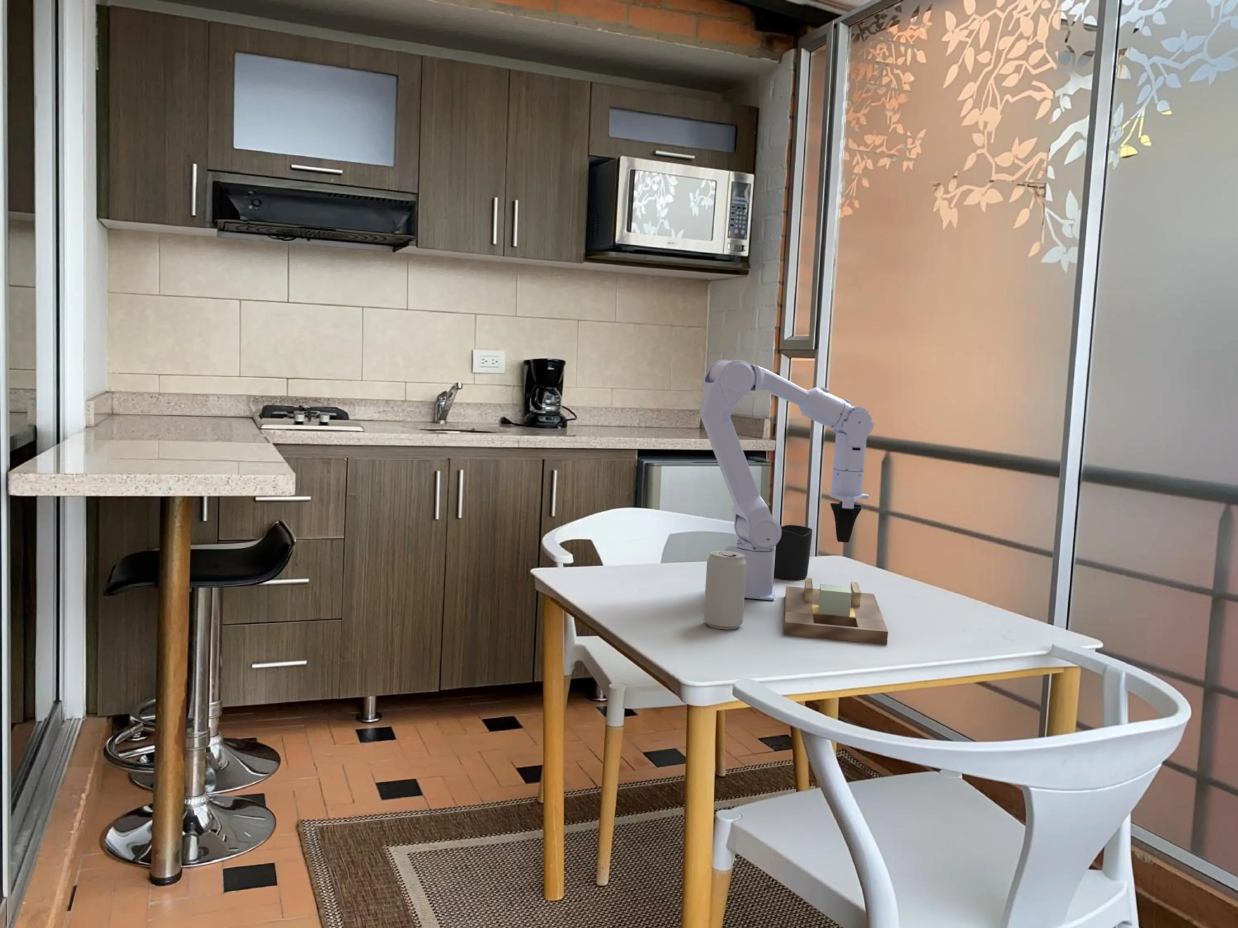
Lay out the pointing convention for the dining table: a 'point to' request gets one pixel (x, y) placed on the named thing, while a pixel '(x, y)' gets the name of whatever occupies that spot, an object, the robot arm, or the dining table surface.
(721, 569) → the beverage can
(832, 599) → the block
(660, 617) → the dining table surface
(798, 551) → the pen holder
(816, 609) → the deck
